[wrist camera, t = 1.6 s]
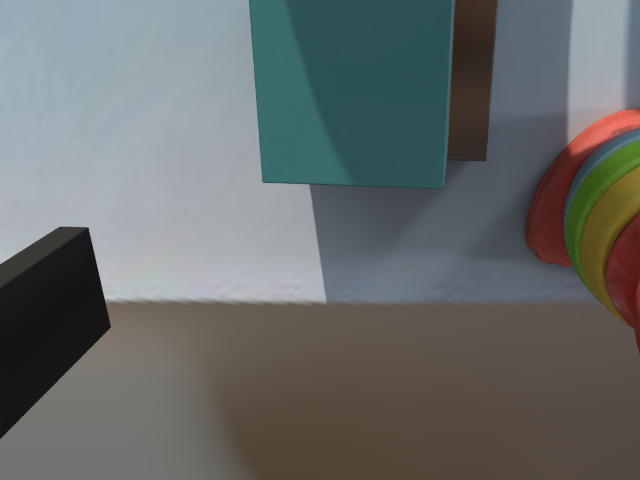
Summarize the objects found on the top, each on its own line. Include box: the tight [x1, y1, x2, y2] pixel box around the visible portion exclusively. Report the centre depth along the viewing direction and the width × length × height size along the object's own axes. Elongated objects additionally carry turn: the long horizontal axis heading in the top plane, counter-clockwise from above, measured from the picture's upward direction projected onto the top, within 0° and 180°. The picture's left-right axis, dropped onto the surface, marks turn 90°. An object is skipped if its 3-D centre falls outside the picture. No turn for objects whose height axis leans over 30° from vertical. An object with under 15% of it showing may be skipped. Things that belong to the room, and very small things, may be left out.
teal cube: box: [249, 0, 455, 189], centre depth 24 cm, size 7×7×6 cm
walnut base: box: [447, 0, 498, 161], centre depth 33 cm, size 11×11×4 cm
